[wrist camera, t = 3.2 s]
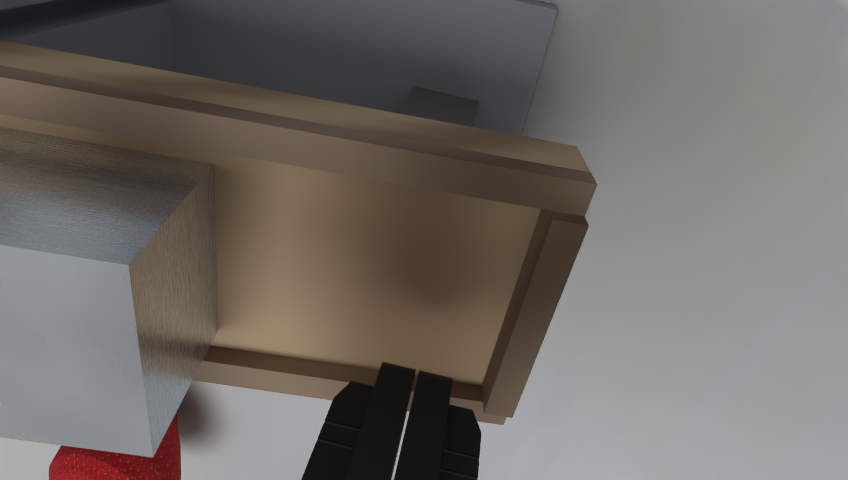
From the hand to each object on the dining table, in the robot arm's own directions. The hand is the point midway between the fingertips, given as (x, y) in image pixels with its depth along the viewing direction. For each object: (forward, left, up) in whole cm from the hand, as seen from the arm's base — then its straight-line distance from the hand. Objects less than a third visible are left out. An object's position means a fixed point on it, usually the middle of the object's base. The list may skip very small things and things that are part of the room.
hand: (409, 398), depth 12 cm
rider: (+6, -6, -2) cm, 9 cm away
